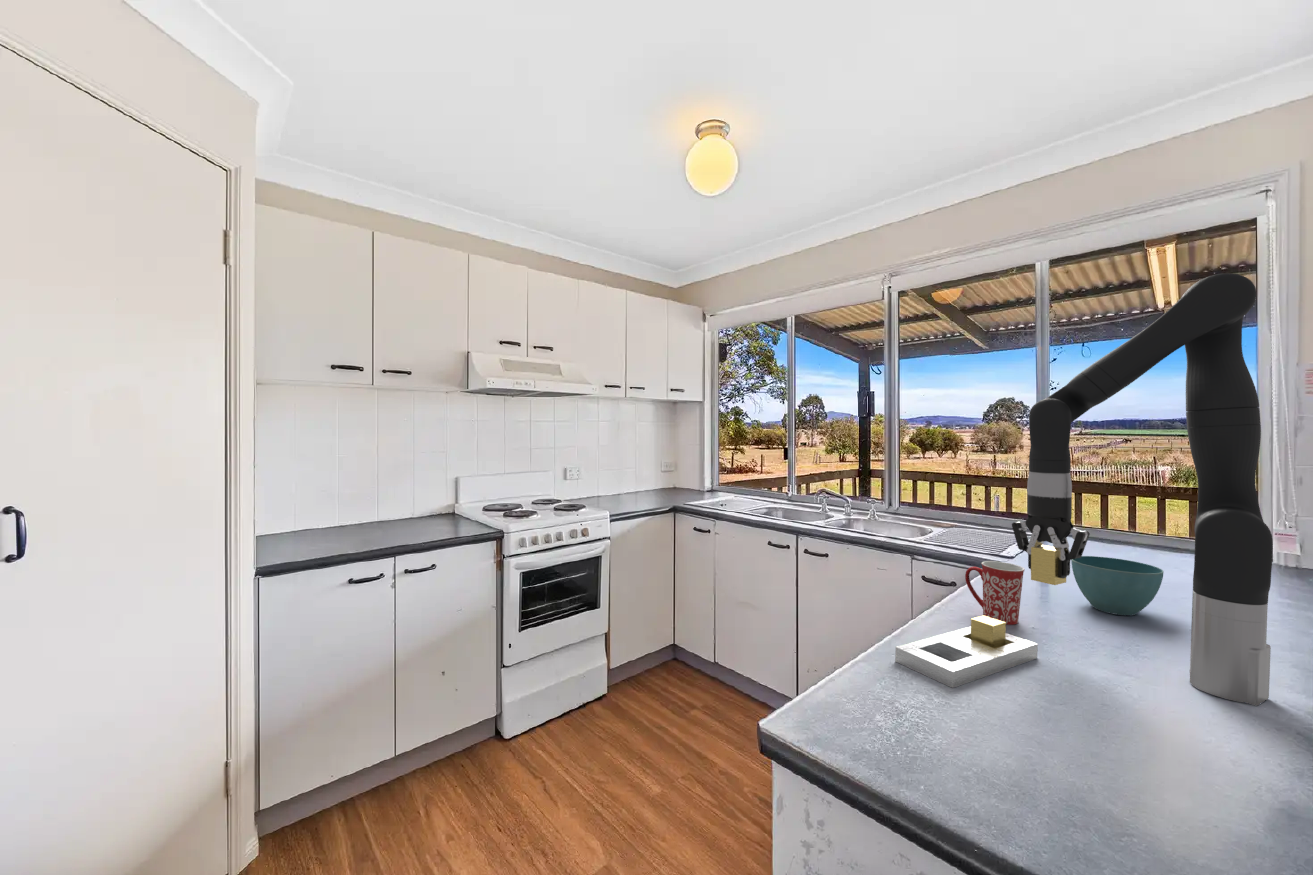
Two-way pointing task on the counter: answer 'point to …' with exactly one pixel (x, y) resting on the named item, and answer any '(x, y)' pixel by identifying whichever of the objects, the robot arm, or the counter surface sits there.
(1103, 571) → the teal bowl
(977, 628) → the seated brass block
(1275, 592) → the counter surface
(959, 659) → the white socket board
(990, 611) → the mug
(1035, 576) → the brass block
